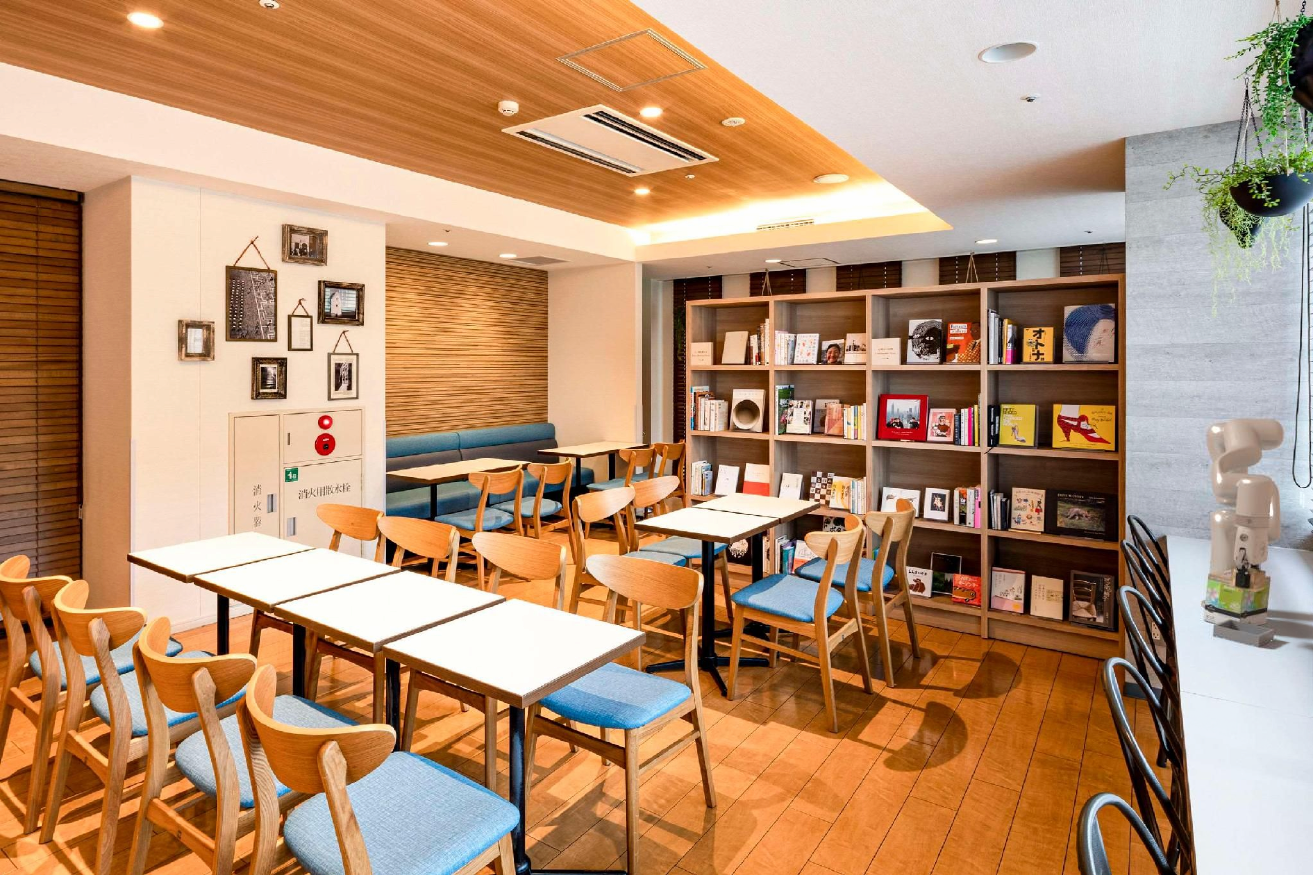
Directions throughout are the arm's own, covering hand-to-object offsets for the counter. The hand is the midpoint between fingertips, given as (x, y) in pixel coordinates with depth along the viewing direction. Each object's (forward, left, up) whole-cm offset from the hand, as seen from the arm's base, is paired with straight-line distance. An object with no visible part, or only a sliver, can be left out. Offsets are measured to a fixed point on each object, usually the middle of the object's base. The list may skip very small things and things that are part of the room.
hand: (1247, 585), depth 212 cm
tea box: (-14, -7, -15) cm, 22 cm away
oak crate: (0, 0, -1) cm, 1 cm away
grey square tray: (0, 0, -15) cm, 15 cm away
